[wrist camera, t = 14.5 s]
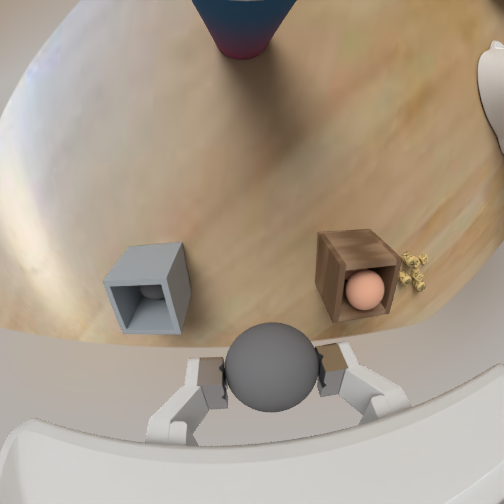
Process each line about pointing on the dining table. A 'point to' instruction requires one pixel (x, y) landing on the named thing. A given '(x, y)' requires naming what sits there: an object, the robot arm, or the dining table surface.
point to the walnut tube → (351, 258)
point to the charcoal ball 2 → (271, 367)
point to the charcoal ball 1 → (152, 291)
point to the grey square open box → (150, 273)
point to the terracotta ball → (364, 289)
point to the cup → (242, 24)
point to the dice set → (413, 271)
